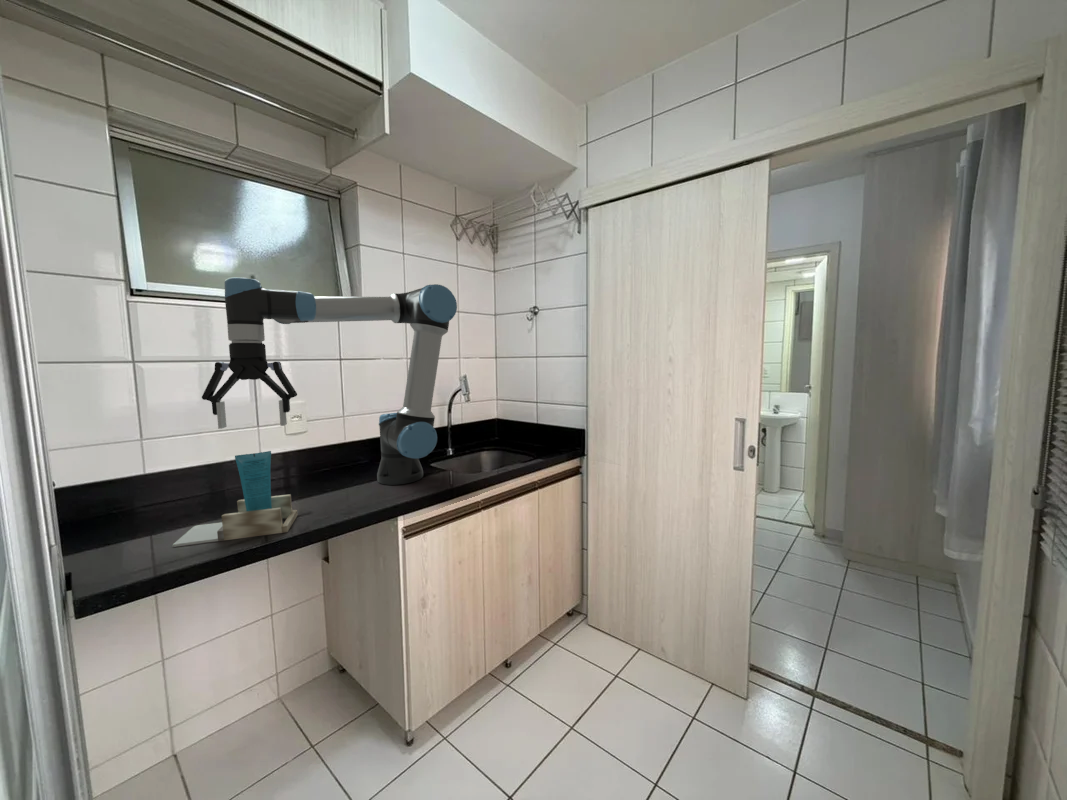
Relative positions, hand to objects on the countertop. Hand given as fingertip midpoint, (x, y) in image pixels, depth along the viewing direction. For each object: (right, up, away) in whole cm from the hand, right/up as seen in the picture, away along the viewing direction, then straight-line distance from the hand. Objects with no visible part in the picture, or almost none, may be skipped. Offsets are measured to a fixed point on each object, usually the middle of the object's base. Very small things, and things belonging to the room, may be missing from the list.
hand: (253, 426), depth 106 cm
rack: (+2, -25, -1) cm, 26 cm away
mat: (-9, -26, -4) cm, 28 cm away
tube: (+2, -26, -1) cm, 26 cm away
